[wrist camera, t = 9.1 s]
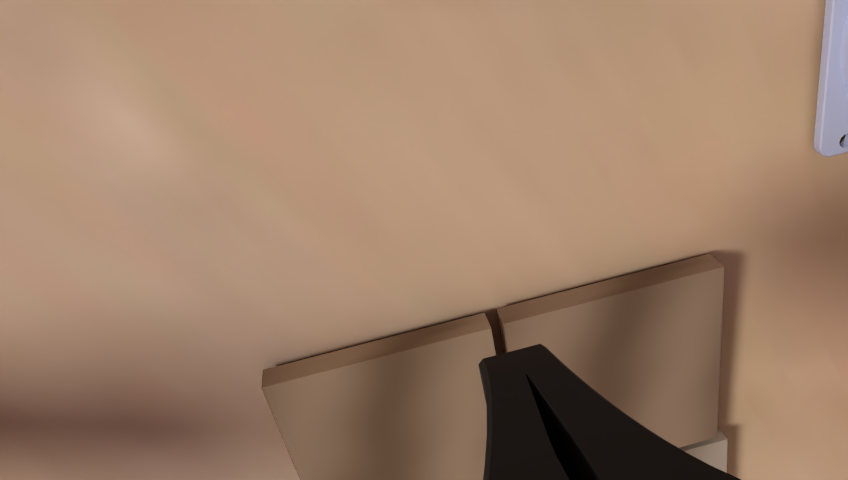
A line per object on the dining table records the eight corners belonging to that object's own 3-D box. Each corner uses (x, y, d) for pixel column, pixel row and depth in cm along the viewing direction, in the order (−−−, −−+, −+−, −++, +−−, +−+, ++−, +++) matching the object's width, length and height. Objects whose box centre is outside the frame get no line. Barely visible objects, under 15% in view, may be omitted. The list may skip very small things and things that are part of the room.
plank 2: (710, 253, 25) (724, 266, 24) (704, 421, 30) (717, 437, 29) (496, 308, 25) (504, 324, 24) (523, 470, 29) (530, 488, 28)
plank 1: (484, 312, 25) (491, 328, 24) (512, 473, 29) (519, 491, 28) (262, 370, 24) (261, 387, 23) (326, 524, 29) (327, 543, 28)
